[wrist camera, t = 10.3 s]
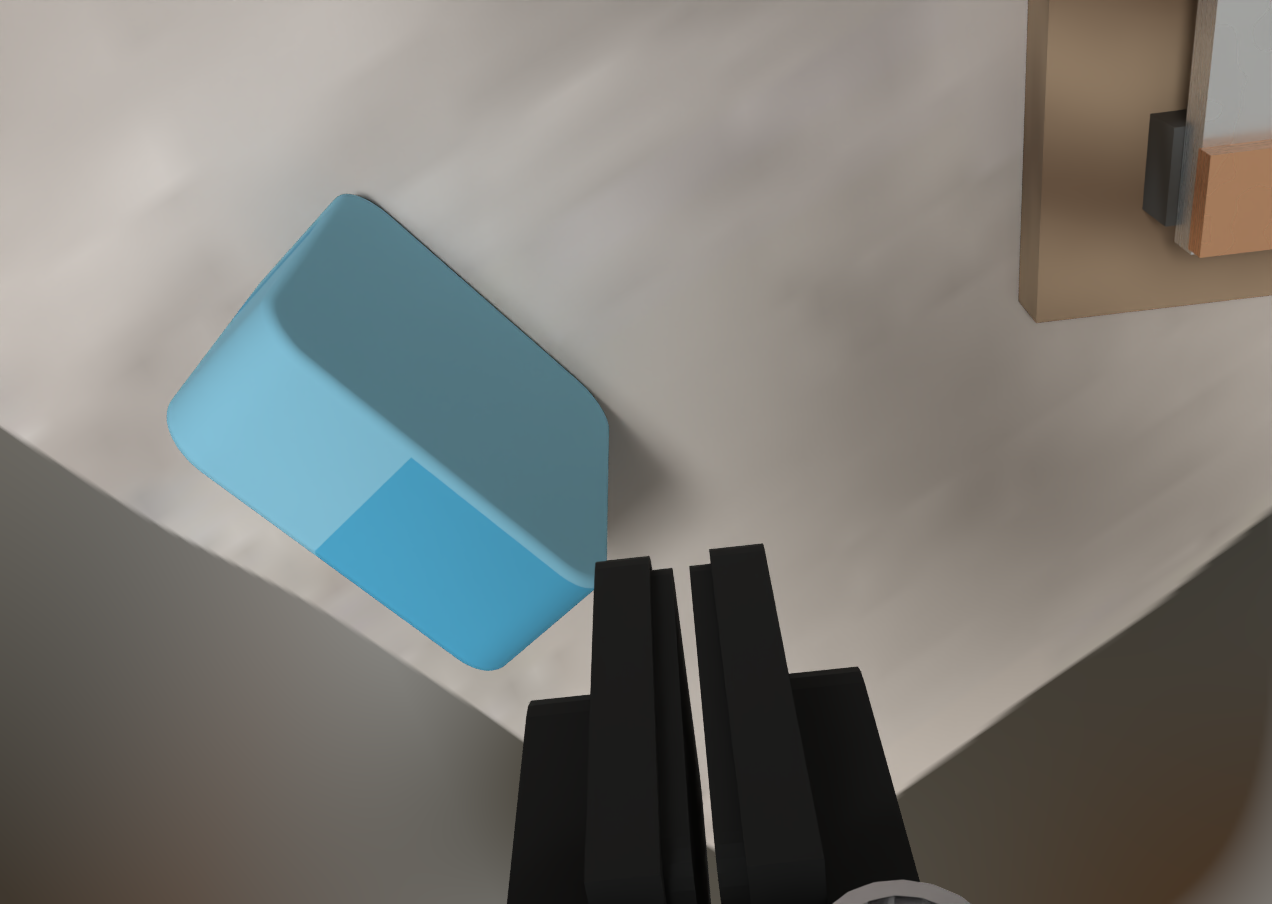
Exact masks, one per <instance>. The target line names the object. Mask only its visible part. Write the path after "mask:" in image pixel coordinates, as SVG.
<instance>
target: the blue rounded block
mask: <svg viewBox="0 0 1272 904" xmlns="http://www.w3.org/2000/svg"><path fill="white" fill-rule="evenodd" d="M167 424H168V428H169V431H170V434H171V436H172V438H173V440H174V442H175V444H176V446H177V447H178V449H179V450H180V451H181V453H182V454H183V455H184V456H185V457H186V458H187V460H188V461H189V462H190V463H191V464H193V465H194V466H195V467H196V468H197V469H198V470H200V471H201V472H202V473H203V474H205V475H206V476H207V477H209V478H210V479H212V480H213V481H214V482H216V483H217V484H218V485H220V486H221V487H223V488H224V489H225V490H227V491H228V492H229V493H231V494H232V495H234V496H235V497H236V498H238V499H239V500H240V501H242V502H243V503H244V504H246V505H247V506H249V507H250V508H251V509H253V510H254V511H255V512H257V513H258V514H260V515H261V516H262V517H264V518H265V519H266V520H268V521H269V522H271V523H272V524H273V525H275V526H276V527H277V528H279V529H280V530H282V531H283V532H284V533H286V534H287V535H288V536H290V537H291V538H292V539H294V540H295V541H297V542H298V543H299V544H301V545H302V546H303V547H305V548H306V549H308V550H309V551H310V552H312V553H313V554H314V555H316V556H317V557H319V558H320V559H321V560H323V561H324V562H325V563H327V564H328V565H330V566H331V567H332V568H334V569H335V570H336V571H338V572H339V573H340V574H342V575H343V576H345V577H346V578H347V579H349V580H350V581H351V582H353V583H354V584H356V585H357V586H358V587H360V588H361V589H362V590H364V591H365V592H367V593H368V594H369V595H371V596H372V597H373V598H375V599H376V600H378V601H379V602H380V603H382V604H383V605H384V606H386V607H387V608H388V609H390V610H391V611H393V612H394V613H395V614H397V615H398V616H399V617H401V618H402V619H404V620H405V621H406V622H408V623H409V624H410V625H412V626H413V627H415V628H416V629H417V630H419V631H420V632H421V633H423V634H424V635H425V636H427V637H428V638H430V639H431V640H432V641H434V642H435V643H436V644H438V645H439V646H441V647H442V648H443V649H445V650H446V651H447V652H449V653H450V654H452V655H453V656H454V657H456V658H457V659H459V660H460V661H462V662H463V663H465V664H467V665H469V666H471V667H473V668H476V669H480V670H486V671H489V670H497V669H499V668H502V667H503V666H505V665H506V664H507V663H508V662H509V661H511V660H512V659H513V658H514V657H515V656H517V655H518V654H519V653H520V652H521V651H522V650H524V649H525V648H526V647H527V646H528V645H529V644H531V643H532V642H533V641H534V640H535V639H537V638H538V637H539V636H540V635H541V634H542V633H544V632H545V631H546V630H547V629H548V628H550V627H551V626H552V625H553V624H554V623H555V622H557V621H558V620H559V619H560V618H561V617H562V616H564V615H565V614H566V613H567V612H568V611H570V610H571V609H572V608H573V607H574V606H575V605H577V604H578V603H579V602H580V601H581V600H583V599H584V598H585V597H586V596H587V595H588V594H590V593H591V592H592V591H593V590H594V574H595V563H596V562H599V561H607V512H608V452H609V425H608V421H607V418H606V416H605V414H604V412H603V410H602V408H601V407H600V405H599V404H598V402H597V401H596V400H595V398H594V397H593V396H592V395H591V393H590V392H589V391H588V390H587V389H586V388H585V387H584V386H583V385H582V384H581V383H580V382H579V381H578V380H577V379H575V378H574V377H573V376H572V375H571V374H570V373H569V372H567V371H566V370H565V369H564V368H563V367H562V366H561V365H559V364H558V363H557V362H556V361H555V360H554V359H553V358H552V357H550V356H549V355H548V354H547V353H546V352H545V351H544V350H542V349H541V348H540V347H539V346H538V345H537V344H536V343H534V342H533V341H532V340H531V339H530V338H529V337H528V336H526V335H525V334H524V333H523V332H522V331H521V330H520V329H518V328H517V327H516V326H515V325H514V324H513V323H512V322H510V321H509V320H508V319H507V318H506V317H505V316H504V315H502V314H501V313H500V312H499V311H498V310H497V309H496V308H494V307H493V306H492V305H491V304H490V303H489V302H488V301H486V300H485V299H484V298H483V297H482V296H481V295H480V294H478V293H477V292H476V291H475V290H474V289H473V288H472V287H470V286H469V285H468V284H467V283H466V282H465V281H464V280H462V279H461V278H460V277H459V276H458V275H457V274H456V273H454V272H453V271H452V270H451V269H450V268H449V267H448V266H446V265H445V264H444V263H443V262H442V261H441V260H440V259H438V258H437V257H436V256H435V255H434V254H433V253H432V252H430V251H429V250H428V249H427V248H426V247H425V246H424V245H422V244H421V243H420V242H419V241H418V240H417V239H416V238H415V237H413V236H412V235H411V234H410V233H409V232H408V231H407V230H405V229H404V228H403V227H402V226H401V225H400V224H399V223H397V222H396V221H395V220H394V219H393V218H392V217H391V216H389V215H388V214H387V213H386V212H385V211H383V210H382V209H381V208H379V207H378V206H376V205H375V204H373V203H372V202H370V201H368V200H366V199H364V198H362V197H359V196H356V195H352V194H343V195H340V196H338V197H336V198H335V199H334V200H333V202H332V203H331V204H330V205H329V206H328V207H327V208H326V209H325V211H324V212H323V213H322V214H321V215H320V216H319V217H318V218H317V220H316V221H315V222H314V223H313V224H312V225H311V226H310V227H309V228H308V230H307V231H306V232H305V233H304V234H303V235H302V236H301V237H300V239H299V240H298V241H297V242H296V243H295V244H294V245H293V246H292V248H291V249H290V250H289V251H288V252H287V253H286V254H285V255H284V257H283V258H282V259H281V260H280V261H279V262H278V263H277V264H276V266H275V267H274V268H273V269H272V270H271V271H270V272H269V273H268V275H267V276H266V277H265V278H264V279H263V280H262V281H261V282H260V284H259V285H258V286H257V288H256V289H255V290H254V292H253V293H252V294H251V296H250V297H249V298H248V299H247V301H246V302H245V303H244V305H243V306H242V307H241V309H240V310H239V311H238V313H237V314H236V315H235V317H234V318H233V319H232V321H231V322H230V323H229V325H228V326H227V327H226V329H225V330H224V331H223V333H222V334H221V335H220V337H219V338H218V339H217V341H216V342H215V343H214V345H213V346H212V347H211V349H210V350H209V351H208V353H207V354H206V355H205V357H204V358H203V359H202V360H201V362H200V363H199V364H198V366H197V367H196V368H195V370H194V371H193V372H192V374H191V375H190V376H189V378H188V379H187V380H186V382H185V383H184V384H183V386H182V387H181V388H180V390H179V391H178V392H177V394H176V395H175V396H174V398H173V399H172V400H171V402H170V404H169V407H168V410H167Z"/></svg>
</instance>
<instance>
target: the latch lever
mask: <svg viewBox="0 0 1272 904" xmlns="http://www.w3.org/2000/svg"><path fill="white" fill-rule="evenodd" d="M1174 242H1175V243H1177V244H1178V245H1179V246H1180V247H1182V248H1183V249H1184V250H1185V251H1187V252H1188V253H1189V254H1190V255H1194V254H1195V255H1196V256H1198V257H1199V258H1204V257H1212V256H1220V255H1229V254H1237V253H1245V252H1254V251H1262V250H1270V249H1272V0H1198V6H1197V16H1196V26H1195V36H1194V46H1193V57H1192V67H1191V77H1190V87H1189V97H1188V107H1187V117H1186V127H1185V137H1184V148H1183V158H1182V168H1181V178H1180V188H1179V198H1178V208H1177V218H1176V228H1175V238H1174Z"/></svg>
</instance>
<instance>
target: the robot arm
mask: <svg viewBox="0 0 1272 904" xmlns="http://www.w3.org/2000/svg"><path fill="white" fill-rule="evenodd" d="M709 552H710V561H711V564H704V565H695V566H690V579H691V590H692V601H693V612H694V623H695V634H696V645H697V656H698V667H699V678H700V689H701V700H702V711H703V722H704V733H705V744H706V756H707V767H708V778H709V789H710V800H711V811H712V822H713V833H714V843H715V853H716V863H717V872H718V881H719V889H720V897H721V904H970V903H969V902H968V901H966V900H965V899H964V898H962V897H961V896H959V895H957V894H954V893H952V892H950V891H947V890H945V889H942V888H940V887H938V886H936V885H933V884H927V883H921V882H920V881H919V877H918V873H917V870H916V866H915V863H914V860H913V855H912V852H911V848H910V845H909V841H908V837H907V834H906V830H905V827H904V823H903V819H902V816H901V813H900V809H899V805H898V801H897V798H896V794H895V791H894V787H893V783H892V780H891V776H890V773H889V769H888V765H887V762H886V758H885V755H884V751H883V747H882V744H881V740H880V737H879V733H878V729H877V726H876V722H875V719H874V715H873V711H872V708H871V704H870V701H869V697H868V693H867V690H866V686H865V683H864V680H863V677H862V674H861V671H860V669H859V668H858V667H849V668H840V669H830V670H821V671H811V672H802V673H792V674H789V673H788V668H787V663H786V658H785V652H784V647H783V642H782V637H781V632H780V627H779V621H778V616H777V611H776V606H775V601H774V596H773V590H772V585H771V580H770V575H769V570H768V565H767V559H766V554H765V549H764V545H763V544H754V545H745V546H735V547H726V548H717V549H709ZM507 904H711V898H710V886H709V874H708V861H707V850H706V837H705V825H704V813H703V801H702V791H701V782H700V773H699V765H698V758H697V750H696V742H695V735H694V727H693V720H692V712H691V704H690V697H689V689H688V682H687V674H686V666H685V659H684V651H683V644H682V636H681V629H680V621H679V613H678V606H677V598H676V591H675V583H674V576H673V570H672V568H668V569H659V570H652V566H651V560H650V557H649V556H645V557H636V558H627V559H617V560H608V561H599V562H596V563H595V574H594V604H593V633H592V663H591V692H590V695H582V696H572V697H563V698H553V699H544V700H534V701H531V702H530V704H529V705H528V710H527V716H526V725H525V735H524V744H523V754H522V764H521V774H520V783H519V793H518V803H517V812H516V822H515V831H514V841H513V851H512V860H511V870H510V881H509V890H508V899H507Z"/></svg>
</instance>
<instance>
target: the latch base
mask: <svg viewBox="0 0 1272 904" xmlns="http://www.w3.org/2000/svg"><path fill="white" fill-rule="evenodd" d="M1197 6H1198V0H1028V25H1027V56H1026V86H1025V117H1024V148H1023V179H1022V209H1021V240H1020V271H1019V302H1020V303H1021V305H1022V306H1023V307H1024V308H1025V310H1026V311H1027V312H1028V313H1029V315H1030V316H1031V317H1032V318H1033V320H1034V321H1035V322H1036V323H1040V322H1049V321H1057V320H1066V319H1074V318H1083V317H1091V316H1100V315H1108V314H1116V313H1125V312H1133V311H1142V310H1150V309H1159V308H1167V307H1176V306H1184V305H1193V304H1201V303H1210V302H1218V301H1227V300H1235V299H1244V298H1252V297H1261V296H1269V295H1272V249H1270V250H1262V251H1254V252H1245V253H1237V254H1229V255H1220V256H1212V257H1204V258H1199V257H1198V256H1196V255H1195V254H1194V255H1190V254H1189V253H1188V252H1187V251H1185V250H1184V249H1183V248H1182V247H1180V246H1179V245H1178V244H1177V243H1175V242H1174V238H1175V228H1176V218H1177V208H1178V198H1179V188H1180V178H1181V168H1182V158H1183V148H1184V137H1185V127H1186V117H1187V107H1188V97H1189V87H1190V77H1191V67H1192V57H1193V46H1194V36H1195V26H1196V16H1197Z"/></svg>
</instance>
